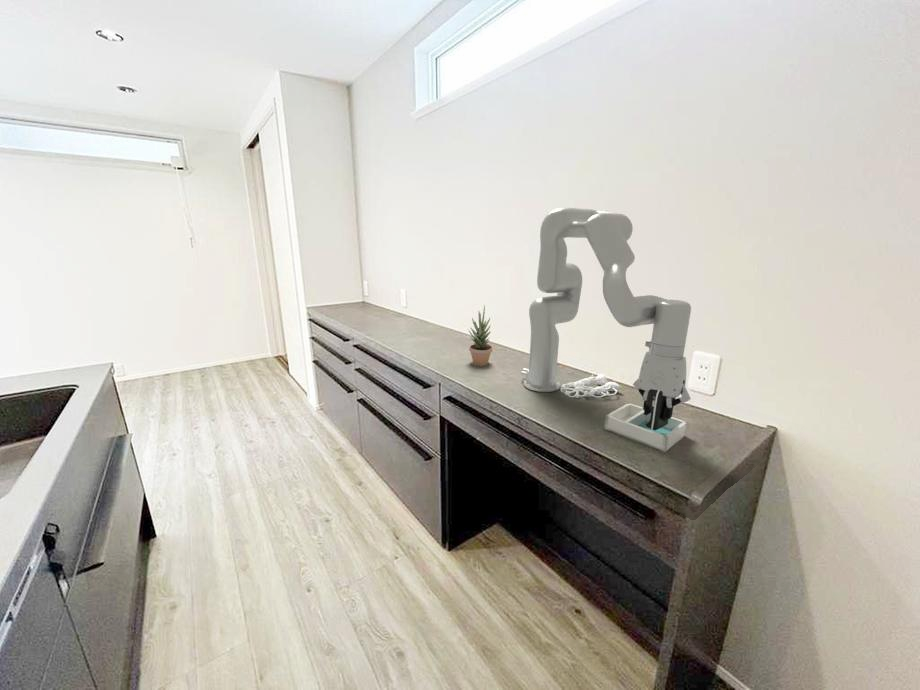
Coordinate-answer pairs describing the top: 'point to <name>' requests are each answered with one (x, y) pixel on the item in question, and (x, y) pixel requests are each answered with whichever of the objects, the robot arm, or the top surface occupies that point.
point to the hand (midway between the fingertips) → (656, 416)
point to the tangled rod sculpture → (583, 384)
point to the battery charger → (656, 409)
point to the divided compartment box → (644, 427)
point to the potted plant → (480, 342)
